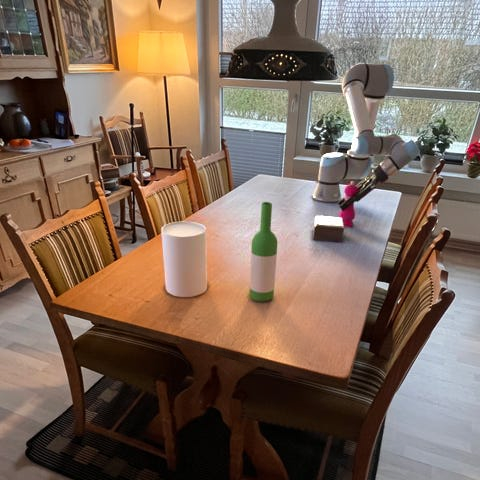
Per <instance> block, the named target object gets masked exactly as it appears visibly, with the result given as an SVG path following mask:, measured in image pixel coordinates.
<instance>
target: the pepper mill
mask: <svg viewBox="0 0 480 480" xmlns="http://www.w3.org/2000/svg"><path fill="white" fill-rule="evenodd" d="M356 185H357V184H355V181H354V180H351V181H350V184H347V185H346V186H345V187H344V189H343V191H344V197H343V198H344V199H345V201H347V200H348V199H349V198H350V197H351V195H352V196H354V195H355V194H356V193H357V192H358V187H357V186H356ZM354 205H355V202H354V203H353V204H352V205H350V206H349V207H348V208H347V209H345V210H344V211H342V210H341V209H340V211H339V214H338V217H340V218H342V219H343V224H344V228H351V227H353V225H354V222H353V221H354V220H355V219H356V211H355V206H354Z"/></svg>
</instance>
